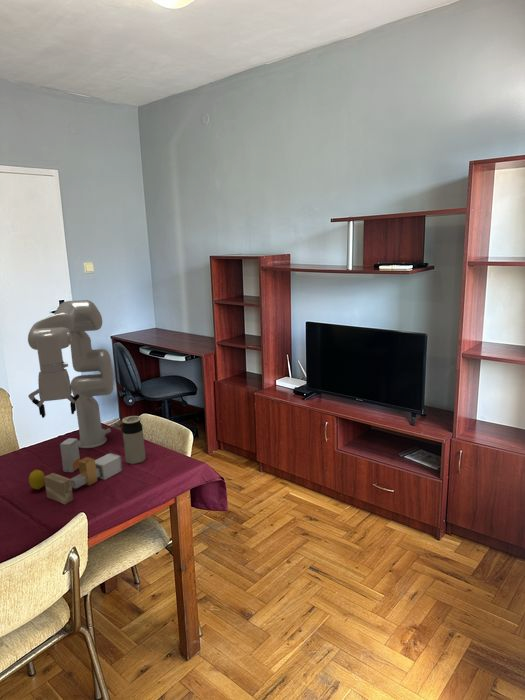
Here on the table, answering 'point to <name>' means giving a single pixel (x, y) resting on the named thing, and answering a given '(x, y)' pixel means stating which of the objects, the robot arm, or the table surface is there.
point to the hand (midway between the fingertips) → (58, 414)
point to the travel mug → (133, 439)
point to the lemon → (37, 479)
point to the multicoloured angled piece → (86, 473)
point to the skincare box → (70, 454)
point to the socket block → (58, 488)
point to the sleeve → (109, 465)
